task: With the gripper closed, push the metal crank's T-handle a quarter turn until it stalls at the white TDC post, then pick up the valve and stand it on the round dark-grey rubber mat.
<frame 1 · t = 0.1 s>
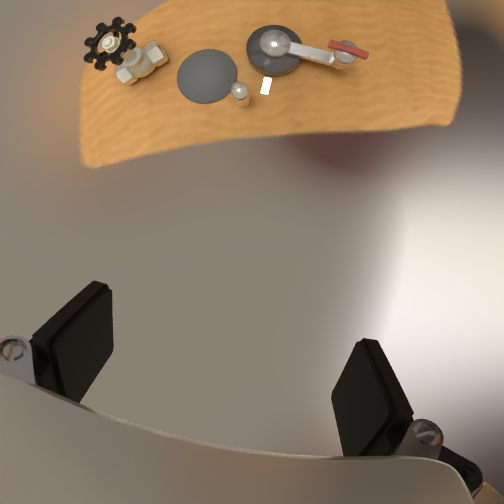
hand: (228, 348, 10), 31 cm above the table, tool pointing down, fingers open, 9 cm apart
valve: (146, 67, 34), on the table
mat: (206, 76, 35), on the table
crank housing: (274, 53, 33), on the table
crank: (311, 46, 28), point 6 cm above the table, hinge at 0.0°
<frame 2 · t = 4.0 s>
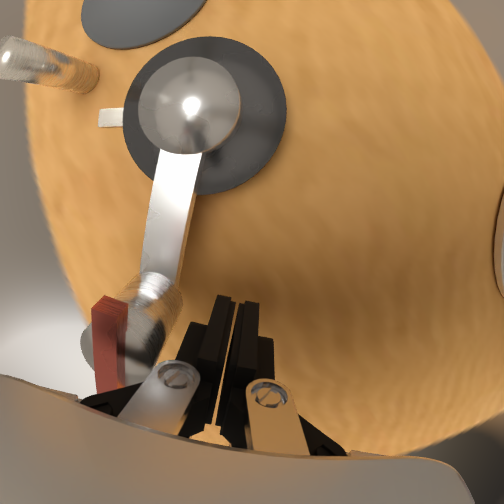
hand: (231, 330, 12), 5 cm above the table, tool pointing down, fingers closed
crank housing: (210, 118, 14), on the table
crank: (148, 227, 9), point 6 cm above the table, hinge at 8.3°, touching gripper
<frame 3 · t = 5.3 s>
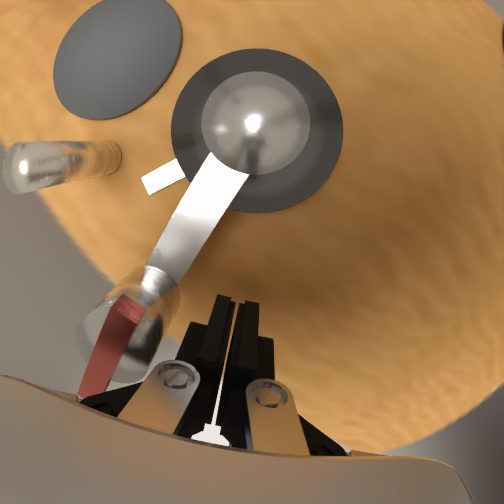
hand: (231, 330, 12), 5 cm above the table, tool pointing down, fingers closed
mat: (112, 52, 12), on the table
crank housing: (257, 132, 14), on the table
crank: (180, 233, 9), point 6 cm above the table, hinge at 57.3°, touching gripper
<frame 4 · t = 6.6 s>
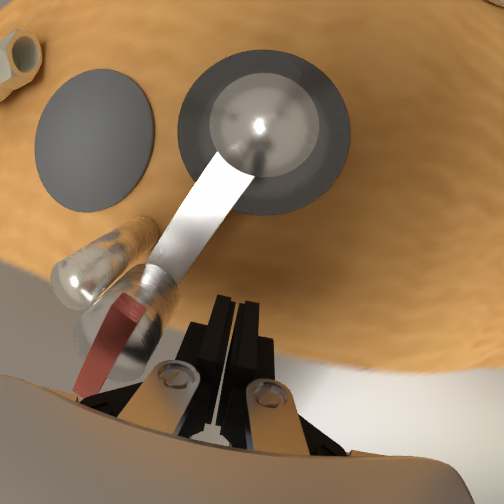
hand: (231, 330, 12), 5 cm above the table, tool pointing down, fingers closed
valve: (14, 78, 12), on the table
mat: (88, 139, 14), on the table
crank housing: (263, 134, 14), on the table
crank: (184, 232, 9), point 6 cm above the table, hinge at 91.4°, touching gripper
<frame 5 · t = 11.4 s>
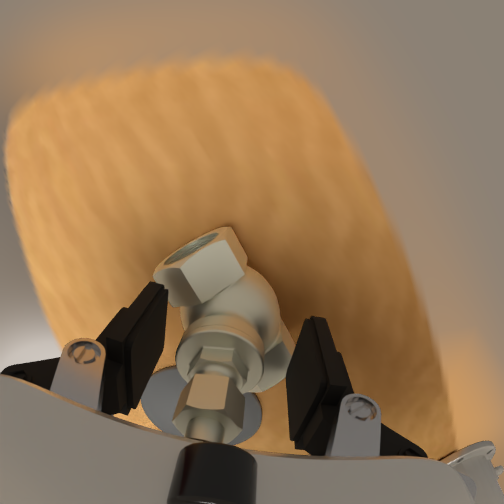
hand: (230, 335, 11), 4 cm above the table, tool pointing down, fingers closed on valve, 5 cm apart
valve: (235, 290, 15), on the table, touching gripper
mat: (200, 410, 18), on the table
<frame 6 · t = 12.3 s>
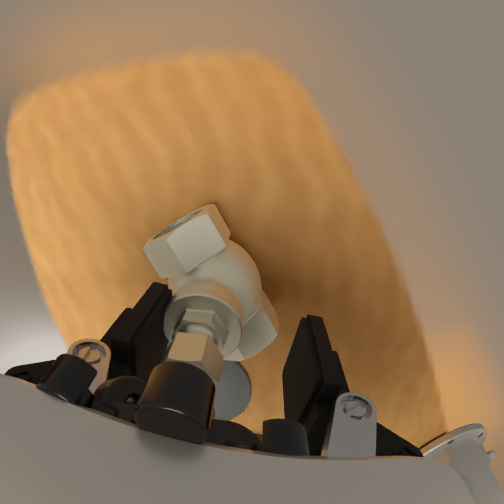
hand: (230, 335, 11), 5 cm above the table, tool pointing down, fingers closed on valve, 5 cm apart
valve: (221, 265, 16), on the table, touching gripper
mat: (192, 385, 19), on the table
when the fingers open (7 cm above the table, at t = 16.0 s): valve stays where it is, resting on mat.
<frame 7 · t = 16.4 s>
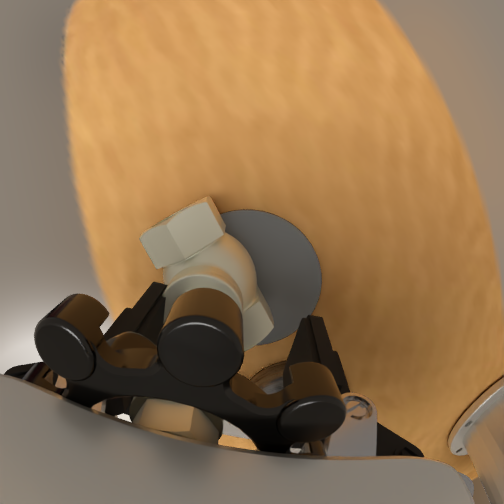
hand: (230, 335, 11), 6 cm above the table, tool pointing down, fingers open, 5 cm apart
valve: (213, 262, 16), resting on mat, touching gripper
mat: (247, 282, 17), on the table
crank housing: (294, 397, 19), on the table
crank: (226, 453, 14), point 6 cm above the table, hinge at 91.6°
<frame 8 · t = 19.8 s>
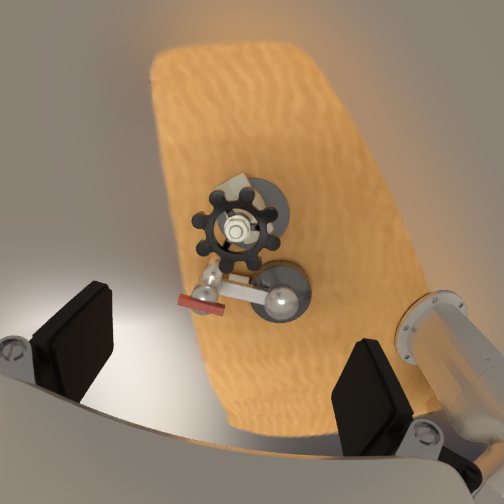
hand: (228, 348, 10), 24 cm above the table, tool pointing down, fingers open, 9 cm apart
valve: (245, 204, 33), resting on mat
mat: (252, 213, 33), on the table
crank housing: (279, 287, 36), on the table
crank: (242, 301, 31), point 6 cm above the table, hinge at 91.6°
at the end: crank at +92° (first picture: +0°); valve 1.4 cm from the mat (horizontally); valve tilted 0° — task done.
